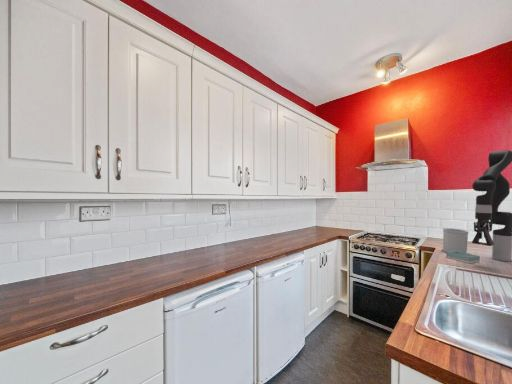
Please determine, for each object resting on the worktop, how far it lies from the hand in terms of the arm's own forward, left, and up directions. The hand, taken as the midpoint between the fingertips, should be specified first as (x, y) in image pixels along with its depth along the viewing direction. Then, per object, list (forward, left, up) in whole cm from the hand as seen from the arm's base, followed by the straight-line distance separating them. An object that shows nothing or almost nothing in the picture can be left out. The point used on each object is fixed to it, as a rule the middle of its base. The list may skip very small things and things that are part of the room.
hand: (482, 238), depth 145 cm
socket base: (-3, -12, -18) cm, 22 cm away
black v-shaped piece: (0, 0, -4) cm, 4 cm away
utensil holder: (-19, -27, -18) cm, 37 cm away
